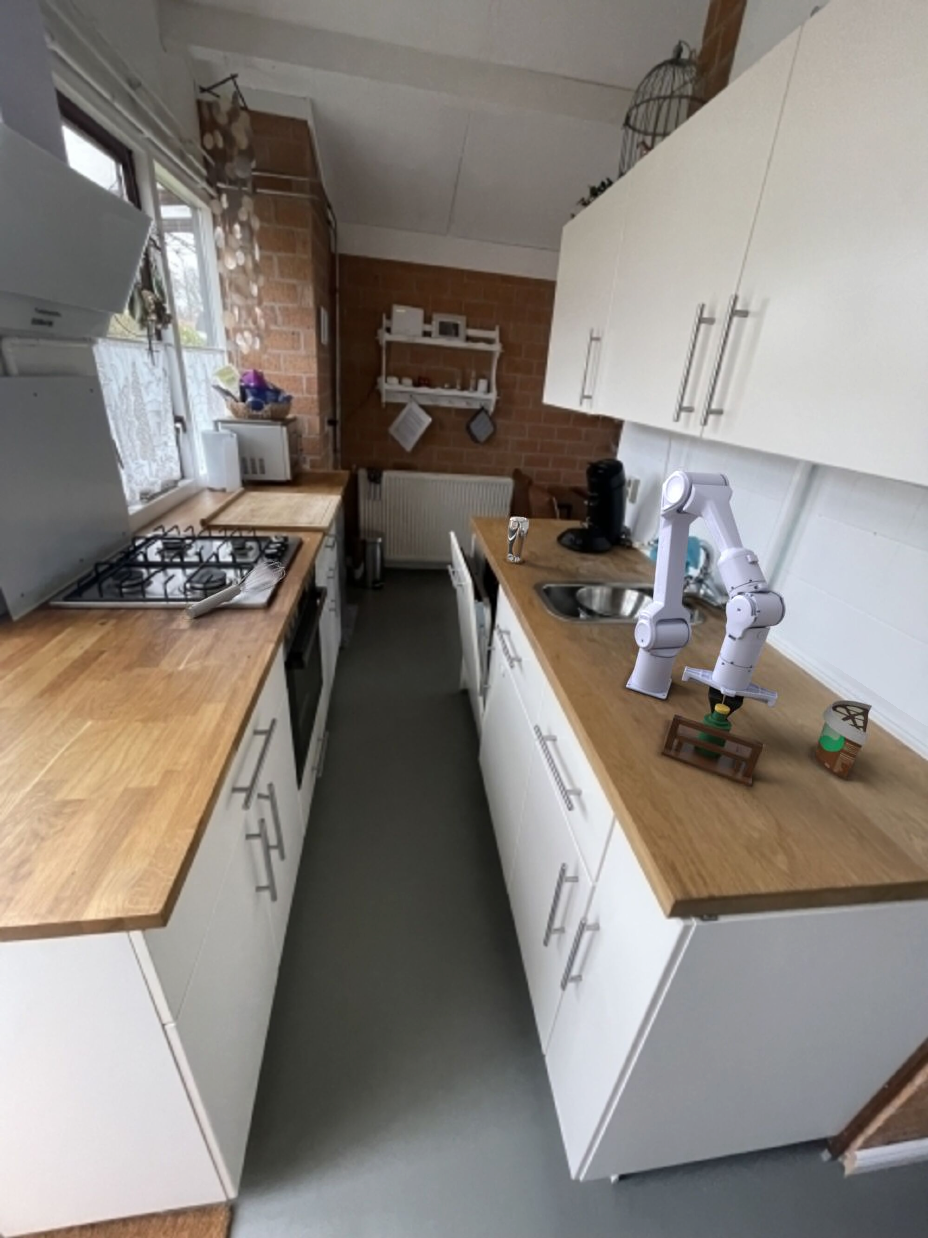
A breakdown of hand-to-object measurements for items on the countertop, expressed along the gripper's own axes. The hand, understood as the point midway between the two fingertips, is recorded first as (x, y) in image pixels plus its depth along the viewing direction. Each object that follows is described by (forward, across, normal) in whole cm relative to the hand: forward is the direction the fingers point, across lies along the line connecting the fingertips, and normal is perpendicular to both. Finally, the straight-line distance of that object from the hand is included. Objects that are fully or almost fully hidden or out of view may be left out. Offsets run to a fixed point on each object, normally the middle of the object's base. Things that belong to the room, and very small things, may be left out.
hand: (714, 725), depth 91 cm
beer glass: (+5, -69, +73) cm, 101 cm away
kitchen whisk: (+3, -112, -7) cm, 113 cm away
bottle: (+3, 0, -4) cm, 5 cm away
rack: (+3, 0, -4) cm, 5 cm away
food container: (+4, +19, +7) cm, 21 cm away
